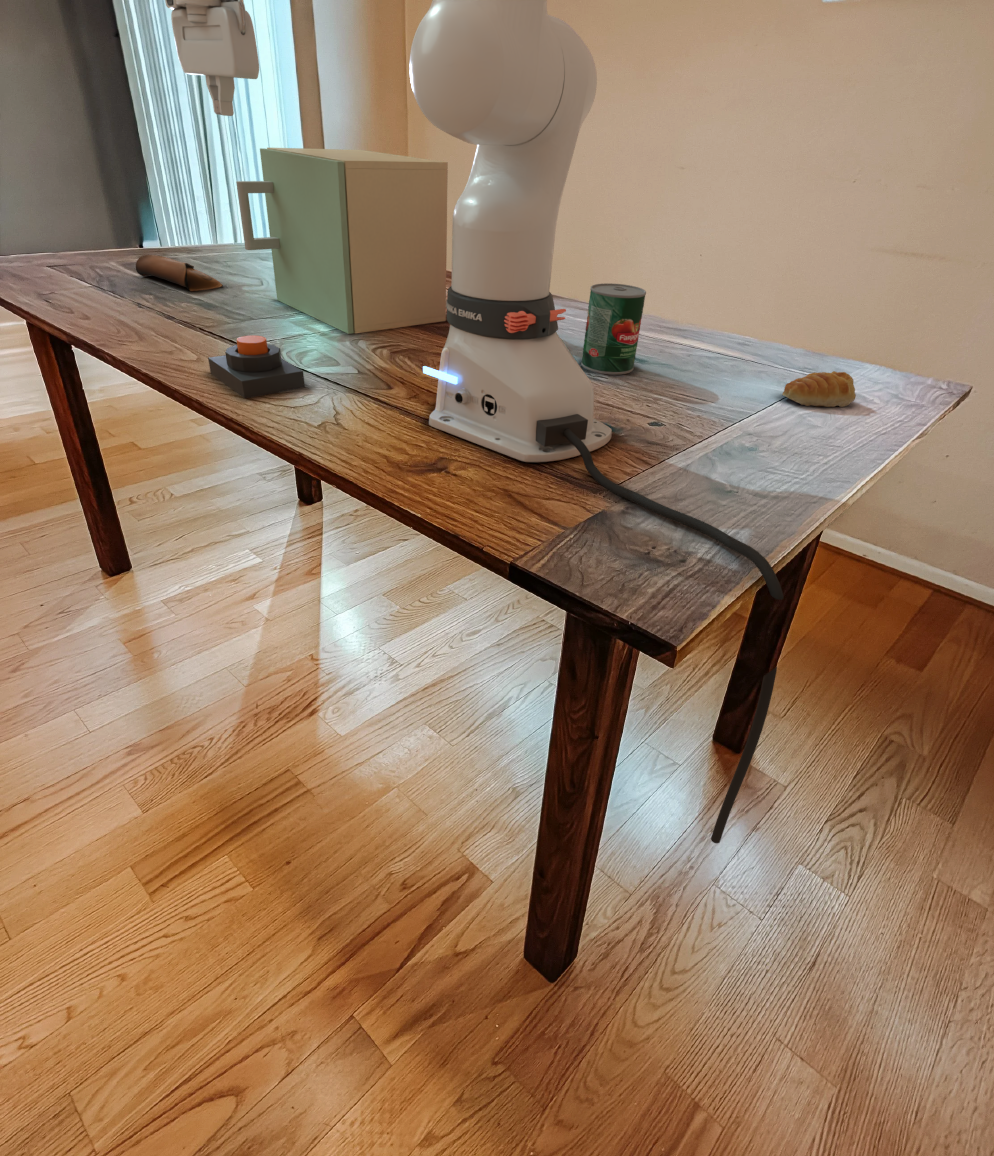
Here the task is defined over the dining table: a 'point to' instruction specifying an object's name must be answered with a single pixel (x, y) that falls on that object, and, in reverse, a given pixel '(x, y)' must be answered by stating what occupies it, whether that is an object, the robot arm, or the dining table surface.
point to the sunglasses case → (175, 272)
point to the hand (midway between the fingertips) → (224, 115)
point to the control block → (256, 372)
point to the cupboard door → (304, 233)
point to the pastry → (822, 389)
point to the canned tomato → (612, 328)
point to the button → (252, 345)
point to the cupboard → (393, 236)
